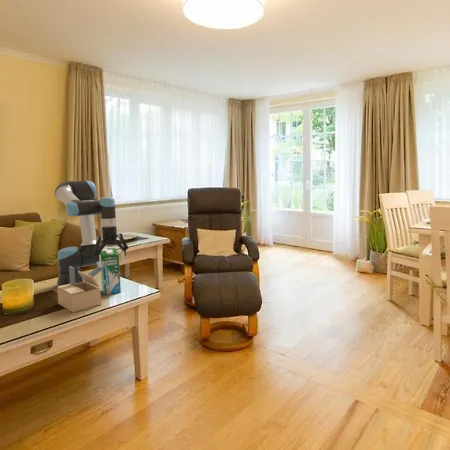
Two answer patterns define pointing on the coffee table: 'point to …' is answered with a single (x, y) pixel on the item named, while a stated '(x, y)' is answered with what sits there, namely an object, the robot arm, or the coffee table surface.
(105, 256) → the milk carton
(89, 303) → the carton box
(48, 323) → the coffee table surface
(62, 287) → the flap
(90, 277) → the flap
